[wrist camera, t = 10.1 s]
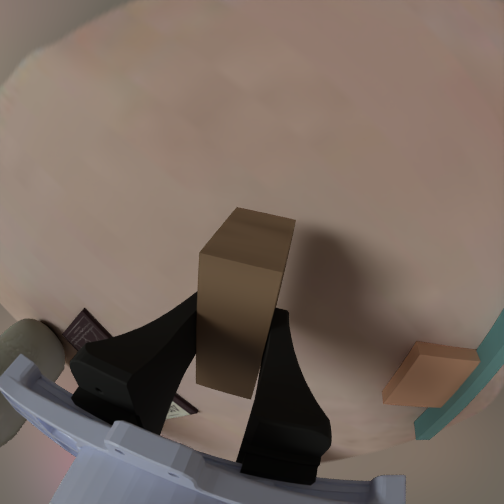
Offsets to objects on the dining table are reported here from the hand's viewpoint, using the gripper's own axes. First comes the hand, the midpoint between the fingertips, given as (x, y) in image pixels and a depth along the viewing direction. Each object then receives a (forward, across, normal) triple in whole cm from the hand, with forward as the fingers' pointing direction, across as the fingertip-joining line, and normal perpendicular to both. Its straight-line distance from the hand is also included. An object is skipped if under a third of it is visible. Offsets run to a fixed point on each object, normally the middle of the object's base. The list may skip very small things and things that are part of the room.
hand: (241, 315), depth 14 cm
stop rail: (+6, -22, +7) cm, 24 cm away
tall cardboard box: (+3, 0, 0) cm, 3 cm away
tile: (+7, -17, +8) cm, 20 cm away
